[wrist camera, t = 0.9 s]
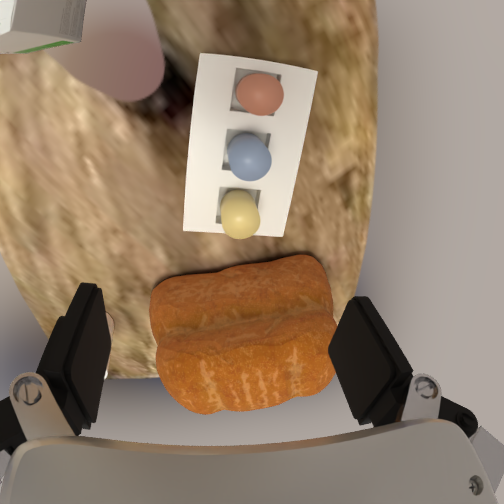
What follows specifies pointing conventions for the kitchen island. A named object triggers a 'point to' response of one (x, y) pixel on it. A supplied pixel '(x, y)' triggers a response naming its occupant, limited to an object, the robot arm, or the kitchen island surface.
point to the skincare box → (39, 24)
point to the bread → (244, 335)
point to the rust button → (259, 94)
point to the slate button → (248, 157)
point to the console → (237, 122)
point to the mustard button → (239, 214)
